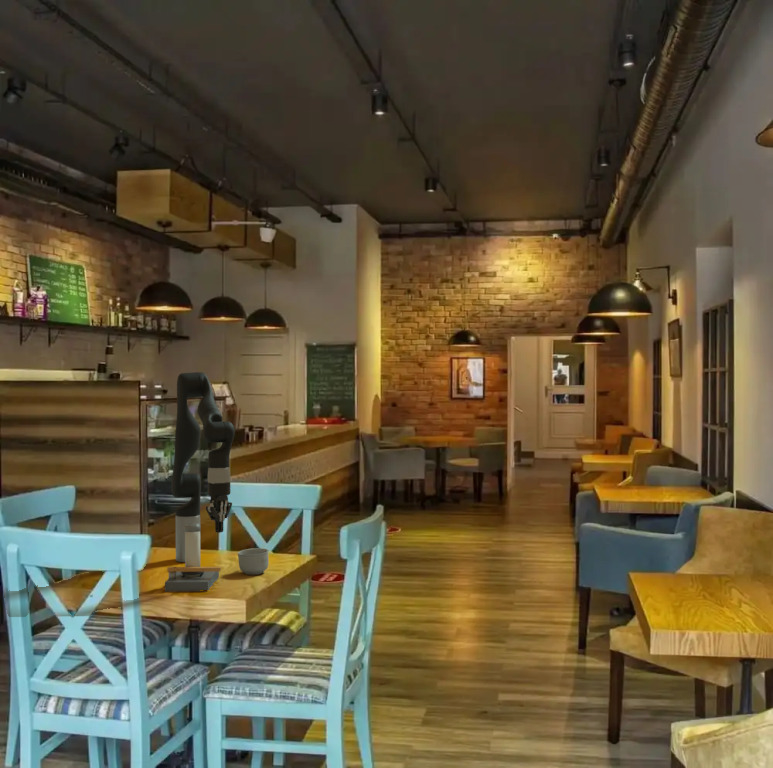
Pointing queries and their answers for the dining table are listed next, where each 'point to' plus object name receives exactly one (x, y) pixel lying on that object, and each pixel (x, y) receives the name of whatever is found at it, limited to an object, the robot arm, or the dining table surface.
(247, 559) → the teacup
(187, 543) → the grey tall cylinder
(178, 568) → the clip
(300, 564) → the dining table surface
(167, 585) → the grey flat block
